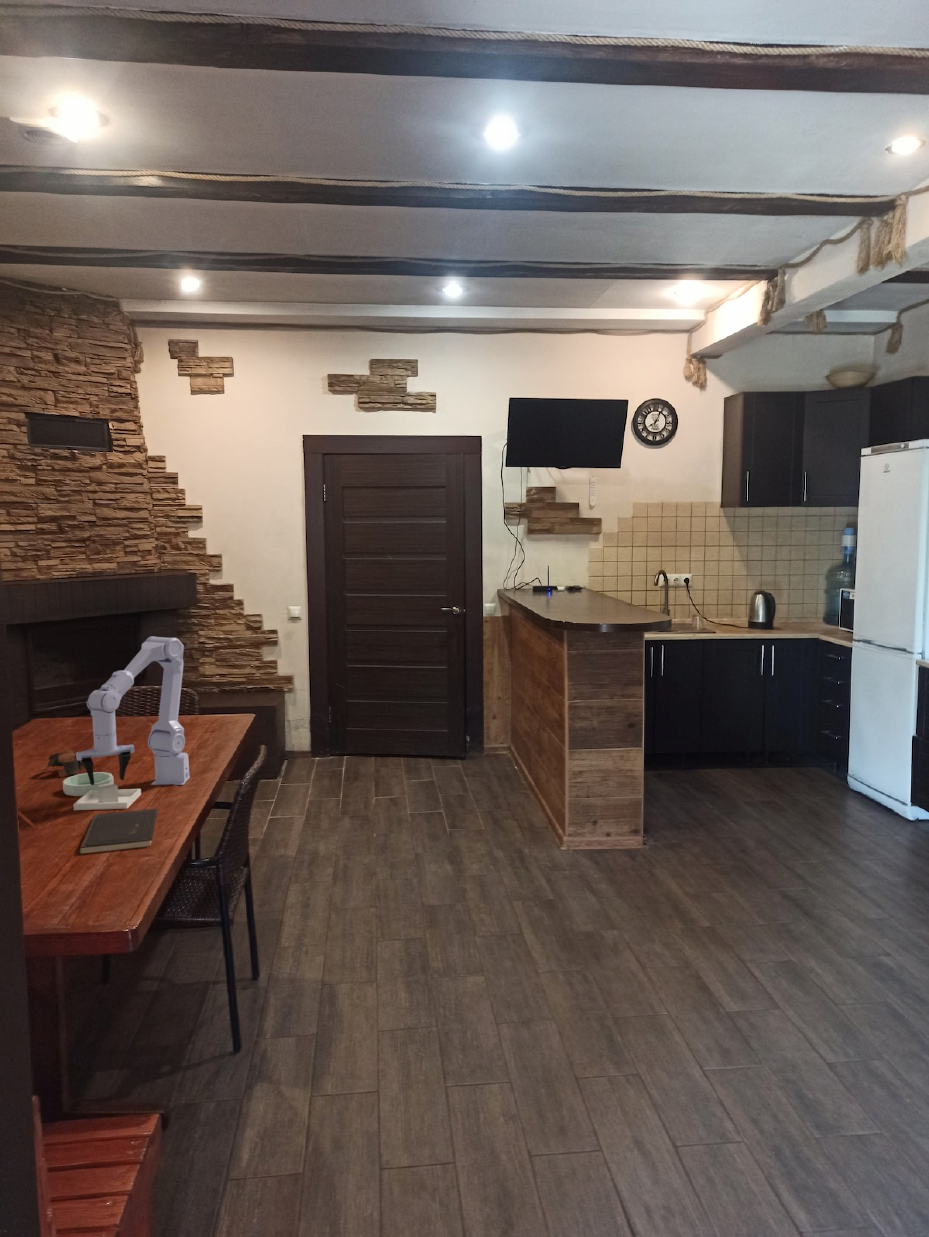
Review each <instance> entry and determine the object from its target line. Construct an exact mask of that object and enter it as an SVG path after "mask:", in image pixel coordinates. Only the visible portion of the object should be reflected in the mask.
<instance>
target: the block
mask: <svg viewBox="0 0 929 1237" xmlns="http://www.w3.org/2000/svg"><path fill="white" fill-rule="evenodd" d="M118 786H119V785H117V784H115V783H109V784H104V785H99V786H98V802H99V803H109V802H118V789H119V788H118Z"/></svg>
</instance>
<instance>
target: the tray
mask: <svg viewBox="0 0 929 1237" xmlns="http://www.w3.org/2000/svg"><path fill="white" fill-rule="evenodd" d="M141 795H142V789H141V788H130V789H129V788H127V789H126V788H124V789H119V788H118V802H109V803H99V802H98V790H90V791H89V792H88V793H86V794H85V795H84V796H81V797H80V798H79V799H78V800H77V801H75V802H74V803H73V811H92V810H97V811H98V810H122V809H123V810H125V809H129V807H130V806H131V805H132V804H133V803H134V802H136V800H138V799H139V798H140V796H141Z"/></svg>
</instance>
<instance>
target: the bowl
mask: <svg viewBox="0 0 929 1237" xmlns="http://www.w3.org/2000/svg"><path fill="white" fill-rule="evenodd" d="M93 776H94V785H91V784H90V780H89V776H88V774H87V772H85V773H79V774H74V775H73V776H71V775H70V776H69V777H66V778H65V779H64V780H63V781H62V787H63V793H64V794H65V795H67V796H73V797H83V796H84V795H85V794H86V793H88V792H89V791H90V790H98V786H99V785H104V784H109V783H114V779H115V778H114V776H113V775H112V773H111V772H103V771H102V772H101V771H97V772H95V771H93ZM114 784H115V783H114Z"/></svg>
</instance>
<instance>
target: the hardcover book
mask: <svg viewBox="0 0 929 1237" xmlns="http://www.w3.org/2000/svg"><path fill="white" fill-rule="evenodd" d="M158 812H159V808H149V809H140V810H128V811H118V812H110V813H109V812H108V813H100V814H99V813H97V814H94V815H93V816H92V818H91V822H90V823H89V825H88V828H87V831H86V832H85V835H84V837H83V839H82V842H81V844H80V846H79V850H78V852H79V853H78V854H79V855H81V854H90V853H98V852H107V851H117V850H126V849H134V848H135V849H136V848H146V847H151V846H152V841H153V838H154V837H153V836H154V832H155V829H156V828H155V826H156V823H157V817H158Z"/></svg>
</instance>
